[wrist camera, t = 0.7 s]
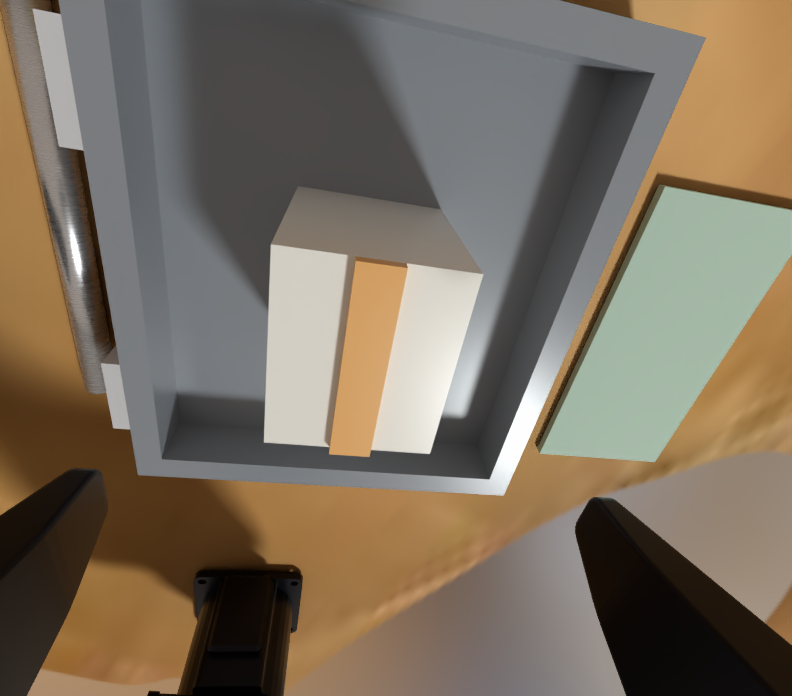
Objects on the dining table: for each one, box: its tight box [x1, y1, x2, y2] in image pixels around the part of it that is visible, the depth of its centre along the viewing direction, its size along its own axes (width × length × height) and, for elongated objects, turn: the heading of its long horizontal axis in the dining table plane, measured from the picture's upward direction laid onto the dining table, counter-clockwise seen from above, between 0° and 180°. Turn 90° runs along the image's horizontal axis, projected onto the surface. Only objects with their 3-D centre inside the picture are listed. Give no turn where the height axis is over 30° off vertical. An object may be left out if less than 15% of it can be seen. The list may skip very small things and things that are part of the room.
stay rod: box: [0, 0, 112, 394], centre depth 16 cm, size 14×1×1 cm, turn 170°
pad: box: [537, 184, 792, 462], centre depth 21 cm, size 14×7×1 cm, turn 170°
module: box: [264, 186, 483, 457], centre depth 14 cm, size 6×5×6 cm
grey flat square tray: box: [32, 0, 706, 495], centre depth 16 cm, size 18×17×3 cm
